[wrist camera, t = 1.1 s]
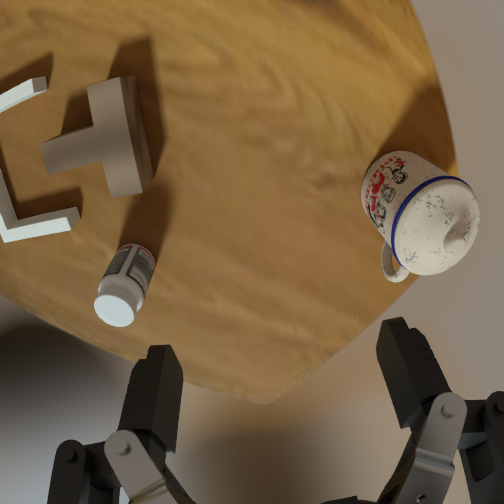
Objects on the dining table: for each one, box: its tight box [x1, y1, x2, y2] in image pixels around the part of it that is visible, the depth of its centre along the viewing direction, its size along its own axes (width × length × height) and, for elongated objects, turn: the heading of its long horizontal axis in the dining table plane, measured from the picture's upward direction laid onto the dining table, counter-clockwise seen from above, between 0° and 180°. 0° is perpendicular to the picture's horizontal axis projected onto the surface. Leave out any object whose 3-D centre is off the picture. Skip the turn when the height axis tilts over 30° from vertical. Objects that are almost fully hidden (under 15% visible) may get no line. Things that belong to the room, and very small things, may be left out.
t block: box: [40, 76, 154, 198], centre depth 24 cm, size 10×9×4 cm
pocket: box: [0, 76, 81, 243], centre depth 25 cm, size 16×11×2 cm
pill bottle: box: [94, 244, 155, 327], centre depth 30 cm, size 5×5×8 cm
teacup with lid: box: [361, 151, 480, 282], centre depth 25 cm, size 12×9×12 cm
